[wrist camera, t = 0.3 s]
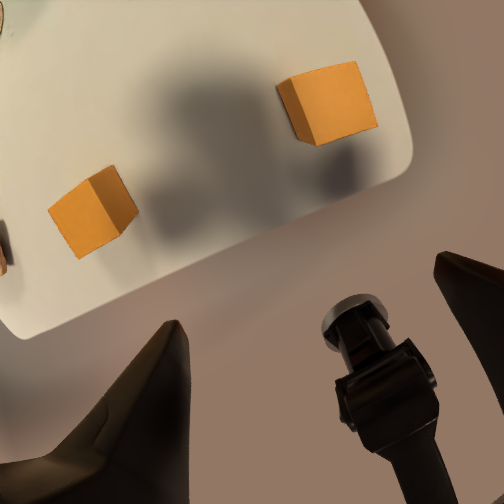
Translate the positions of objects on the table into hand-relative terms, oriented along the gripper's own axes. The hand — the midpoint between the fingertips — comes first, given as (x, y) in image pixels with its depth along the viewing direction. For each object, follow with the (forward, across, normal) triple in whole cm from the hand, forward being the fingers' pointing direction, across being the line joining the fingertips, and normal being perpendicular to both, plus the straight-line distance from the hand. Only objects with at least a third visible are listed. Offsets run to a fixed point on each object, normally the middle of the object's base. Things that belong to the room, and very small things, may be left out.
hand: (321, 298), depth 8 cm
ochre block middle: (+14, +13, -2) cm, 19 cm away
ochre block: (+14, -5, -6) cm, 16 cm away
